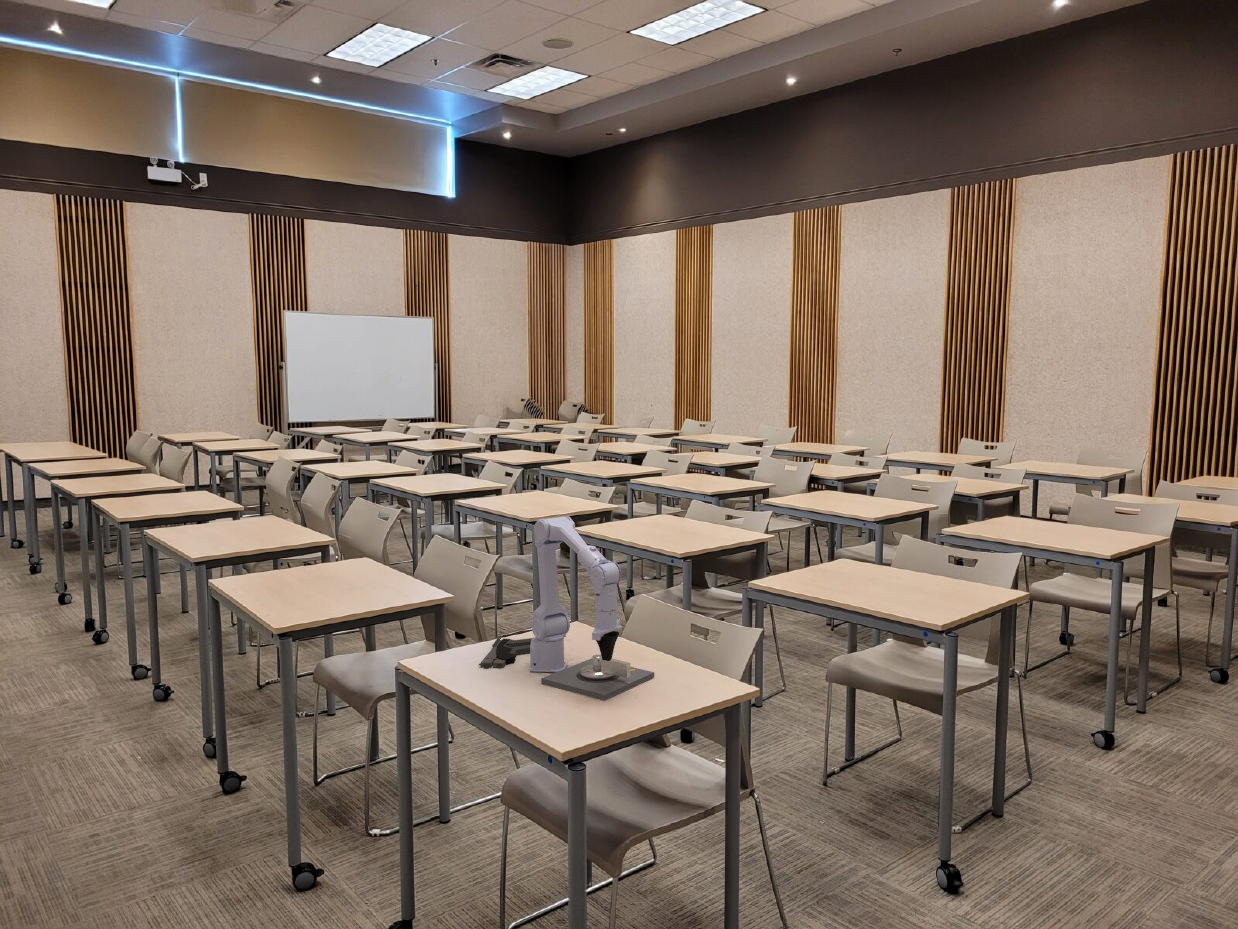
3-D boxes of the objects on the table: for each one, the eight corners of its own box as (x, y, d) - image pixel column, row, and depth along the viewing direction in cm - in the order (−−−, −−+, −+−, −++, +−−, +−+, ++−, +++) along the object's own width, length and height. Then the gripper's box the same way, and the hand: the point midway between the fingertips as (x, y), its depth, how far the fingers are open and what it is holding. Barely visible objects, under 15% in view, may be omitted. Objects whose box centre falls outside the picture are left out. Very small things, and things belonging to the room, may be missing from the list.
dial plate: (541, 683, 239) (541, 677, 239) (592, 662, 256) (592, 657, 256) (604, 700, 226) (604, 694, 225) (654, 677, 243) (654, 672, 243)
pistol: (545, 637, 276) (498, 636, 278) (528, 663, 251) (477, 662, 252) (545, 644, 276) (498, 643, 278) (528, 671, 251) (477, 670, 253)
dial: (572, 675, 240) (572, 657, 239) (595, 665, 248) (595, 648, 247) (617, 686, 230) (617, 668, 230) (639, 676, 238) (639, 658, 238)
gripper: (609, 617, 221) (610, 669, 222) (630, 603, 235) (631, 653, 236) (584, 614, 224) (585, 666, 225) (606, 601, 237) (606, 650, 238)
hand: (607, 659), depth 231 cm, fingers closed
